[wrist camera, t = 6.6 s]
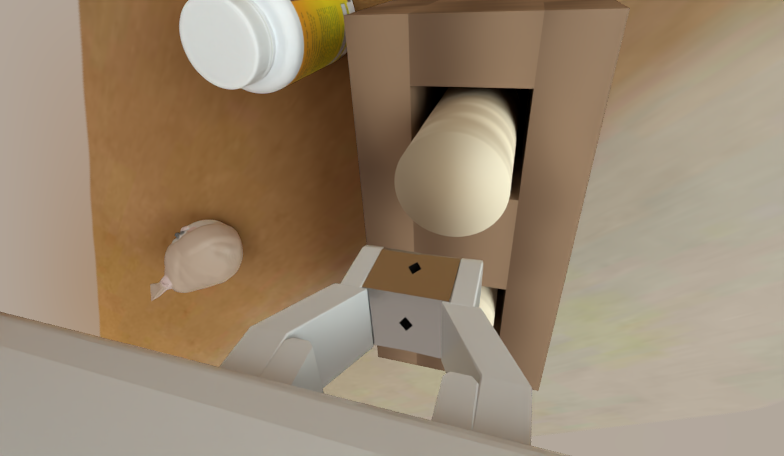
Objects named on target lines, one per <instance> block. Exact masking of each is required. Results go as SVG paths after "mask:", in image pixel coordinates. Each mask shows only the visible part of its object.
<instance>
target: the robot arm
mask: <svg viewBox="0 0 784 456" xmlns="http://www.w3.org/2000/svg"><path fill="white" fill-rule="evenodd" d="M482 275H483V261H482V260H475V259H466V258H462V259H460V258H452V257H445V256H438V255H430V254H422V253H418V252H412V251H406V250H399V249H393V248H387V247H385V248H384V247H379V246H373V245H365V246H363V247H362V249H361V250H360V252H359V254H358V255H357V257H356V258H355V260H354V262H353V263H352V265H351V267H350V268H349V270H348V271H347V273H346V275H345V276H344V278H343V280H342V281H341V283H340V284H337V283H334V284H332V285H330V286H328V287H326V288H324V289H322V290H320V291H318V292H317V293H315V294H313V295H311V296H309V297H307V298H305V299H303V300H301V301H299V302H297V303H295V304H293V305H291V306H290V307H288V308H286V309H284V310H282V311H280V312H278V313H276V314H274V315H272V316H270V317H268V318H266V319H264V320H262V321H261V322H259V323H257V324H255V325H253V326H251V327H250V328H249V329H248V331H247V332H246V333H245V334H244V336H243V337H242V338H241V340H240V341H239V342H238V343H237V345H236V346H235V347H234V349H233V350H232V351H231V352H230V354H229V355H228V356H227V357H226V359H225V360H224V361H223V363H222V364H221V365H220V366H219V367H217V366H213V365H209V364H205V363H201V362H197V361H194V360H190V359H186V358H182V357H178V356H174V355H170V354H166V353H162V352H158V351H154V350H150V349H146V348H142V347H138V346H134V345H130V344H126V343H122V342H118V341H114V340H110V339H106V338H102V337H98V336H94V335H90V334H86V333H82V332H79V331H75V330H71V329H66V328H62V327H59V326H55V325H51V324H46V323H43V322H39V321H35V320H30V319H27V318H23V317H19V316H15V315H11V314H7V313H3V312H0V456H570V455H566V454H561V453H558V452H554V451H550V450H546V449H542V448H538V447H534V446H531V421H532V387H531V385H530V384H529V382H528V381H527V379H526V377H525V376H524V374H523V373H522V371H521V370H520V368H519V367H518V365H517V363H516V362H515V360H514V359H513V357H512V356H511V354H510V352H509V351H508V349H507V348H506V346H505V345H504V343H503V342H502V340H501V338H500V337H499V335H498V334H497V332H496V331H495V329H494V328H493V326H492V324H491V323H490V321H489V320H488V318H487V317H486V315H485V313H484V312H483V310H482V309H481V308H479V305H480V296H481V285H482ZM373 345H378V346H384V347H390V348H395V349H401V350H406V351H411V352H415V353H419V354H423V355H428V356H432V357H436V358H440V359H441V361H442V364H443V366H444V369H445V372H446V374H445V375H443V377H442V381H441V385H440V389H439V393H438V397H437V401H436V405H435V409H434V413H433V417H432V420H427V419H423V418H419V417H415V416H411V415H407V414H403V413H399V412H395V411H391V410H387V409H383V408H379V407H376V406H372V405H368V404H364V403H360V402H356V401H352V400H348V399H344V398H340V397H336V396H332V395H328V394H324V393H323V388H324V387H325V386H326V385H327V384H329V383H330V382H331V381H332V380H333V379H335V378H336V377H337V376H338V375H340V374H341V373H342V372H343V371H344V370H346V369H347V368H348V367H349V366H351V365H352V364H353V363H354V362H355V361H357V360H358V359H359V358H360V357H361V356H363V355H364V354H365V353H366V352H368V351H369V350H370V349H371V348H372V347H373Z"/></svg>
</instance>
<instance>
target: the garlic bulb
mask: <svg viewBox="0 0 784 456" xmlns="http://www.w3.org/2000/svg"><path fill="white" fill-rule="evenodd" d="M175 236H176V238H175V239H174V240H173V242H172V243H171V244H170V245H169V246H168V248H167V251H166V253H165V262H164V263H165V275H164V277H163V278H162V279H161V281H160V282H159V283H155V284H150V286H151V301H152V300H154V299H156V298H158V297H159V296H161V295H162V294H163V293H164V292H165V291H166V290H168V289H173V290H174V291H176V292H182V293H187V292H192V291H195V290H199V289H204V288H207V287H211V286H214V285H216V284H220V283H223V282H225V281H227V280H228V279H229V278H230V277H232V276H233V275H234V274H235V273H236V272H237V271H238V269H239V267H240V265H241V262H242V259H243V248H242V242H241V239H240V237H239V235H238V233H237V231H236V230H235V229H234V228H233V227H231V226H229V225H226V224H224V223H222V222H220V221H216V220H200V221H197V222H194V223H192V224H190V225H188V226H184V227H182V228H181V231H180V233H175Z"/></svg>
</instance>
